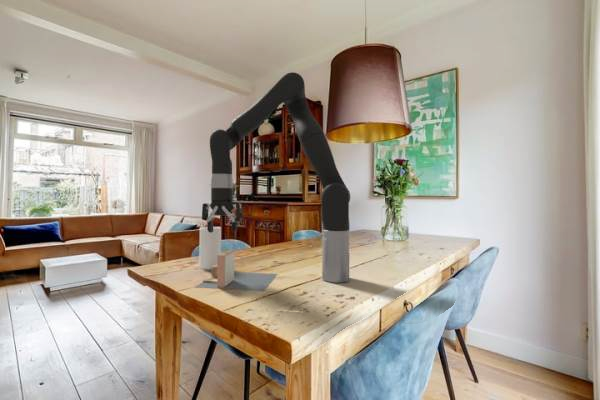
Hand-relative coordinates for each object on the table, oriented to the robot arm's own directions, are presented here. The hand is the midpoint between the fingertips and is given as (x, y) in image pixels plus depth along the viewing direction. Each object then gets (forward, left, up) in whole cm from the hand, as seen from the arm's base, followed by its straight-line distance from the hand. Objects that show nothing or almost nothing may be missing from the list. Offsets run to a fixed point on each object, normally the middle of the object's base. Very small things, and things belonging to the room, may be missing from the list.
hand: (222, 232), depth 100 cm
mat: (-8, +5, -16) cm, 18 cm away
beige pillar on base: (0, +2, -15) cm, 15 cm away
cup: (+10, -11, -16) cm, 21 cm away
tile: (-5, +9, -15) cm, 19 cm away
